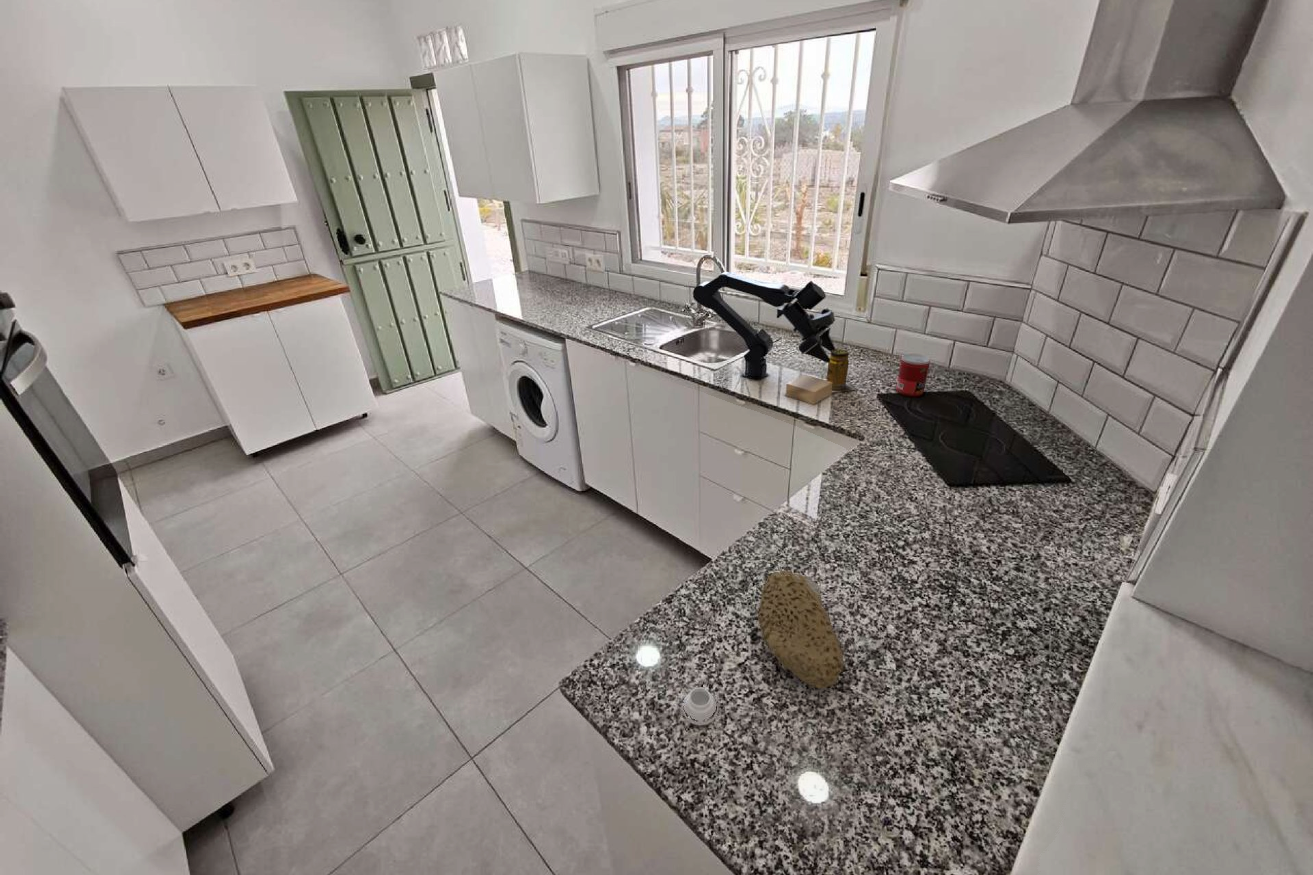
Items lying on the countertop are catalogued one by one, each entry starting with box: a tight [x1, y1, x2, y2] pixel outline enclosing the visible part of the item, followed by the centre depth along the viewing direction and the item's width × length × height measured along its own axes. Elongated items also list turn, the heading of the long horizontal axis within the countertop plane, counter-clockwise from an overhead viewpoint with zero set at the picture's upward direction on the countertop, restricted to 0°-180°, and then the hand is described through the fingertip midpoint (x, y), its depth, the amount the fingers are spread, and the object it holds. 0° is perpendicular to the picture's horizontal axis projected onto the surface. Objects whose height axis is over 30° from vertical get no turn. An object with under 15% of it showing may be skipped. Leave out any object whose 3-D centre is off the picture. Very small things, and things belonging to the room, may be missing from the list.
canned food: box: [895, 353, 931, 397], centre depth 164 cm, size 8×8×11 cm
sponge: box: [757, 570, 845, 689], centre depth 84 cm, size 13×8×20 cm
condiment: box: [825, 348, 857, 393], centre depth 169 cm, size 7×8×12 cm
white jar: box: [681, 686, 719, 727], centre depth 75 cm, size 5×3×5 cm
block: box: [785, 373, 833, 405], centre depth 167 cm, size 10×10×4 cm
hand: (832, 356), depth 168 cm, fingers open, 9 cm apart
